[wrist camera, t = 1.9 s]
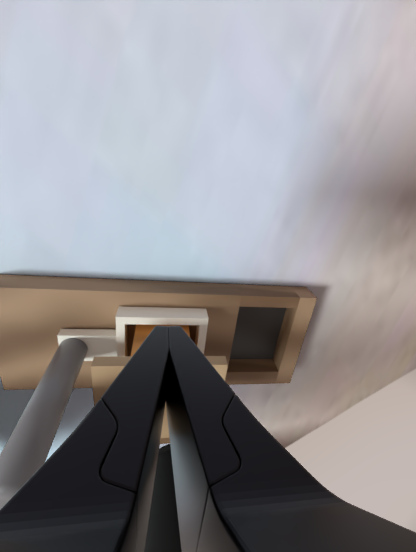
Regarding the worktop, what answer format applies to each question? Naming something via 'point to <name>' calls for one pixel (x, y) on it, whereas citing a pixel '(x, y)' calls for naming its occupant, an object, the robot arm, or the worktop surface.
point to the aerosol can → (163, 508)
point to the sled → (62, 377)
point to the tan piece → (135, 293)
